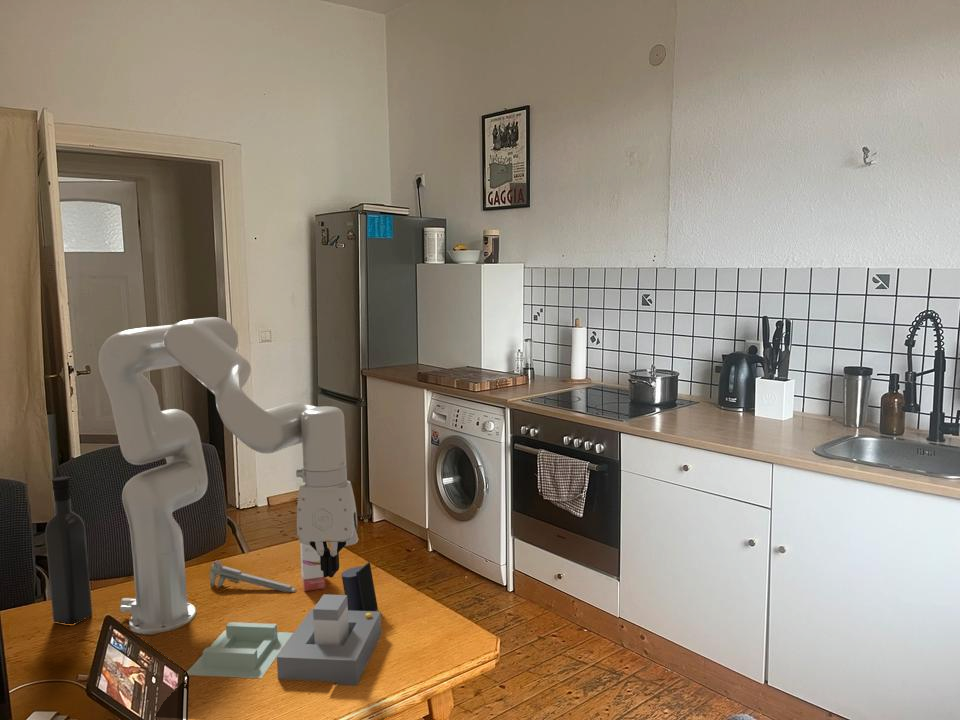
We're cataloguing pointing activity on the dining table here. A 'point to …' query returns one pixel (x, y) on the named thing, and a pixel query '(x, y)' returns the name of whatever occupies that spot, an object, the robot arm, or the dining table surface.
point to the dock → (330, 651)
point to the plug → (331, 620)
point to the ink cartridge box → (311, 568)
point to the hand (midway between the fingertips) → (330, 574)
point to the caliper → (244, 578)
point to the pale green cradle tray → (241, 651)
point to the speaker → (359, 588)
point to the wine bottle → (67, 559)
